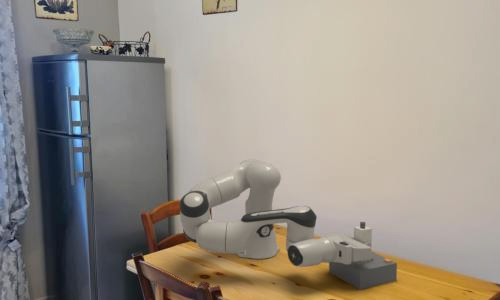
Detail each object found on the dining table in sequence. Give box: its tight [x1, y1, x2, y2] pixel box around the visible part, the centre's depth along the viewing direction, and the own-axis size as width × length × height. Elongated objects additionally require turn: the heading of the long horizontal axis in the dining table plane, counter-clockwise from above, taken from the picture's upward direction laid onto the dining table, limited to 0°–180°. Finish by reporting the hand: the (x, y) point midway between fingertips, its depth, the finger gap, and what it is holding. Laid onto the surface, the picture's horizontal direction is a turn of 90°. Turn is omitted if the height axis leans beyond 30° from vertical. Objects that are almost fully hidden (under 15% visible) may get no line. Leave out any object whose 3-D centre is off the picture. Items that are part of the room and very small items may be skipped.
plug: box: [353, 221, 373, 263], centre depth 167 cm, size 4×4×14 cm
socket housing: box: [328, 251, 398, 290], centre depth 168 cm, size 18×16×7 cm
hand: (364, 242), depth 167 cm, fingers closed on plug, 4 cm apart
